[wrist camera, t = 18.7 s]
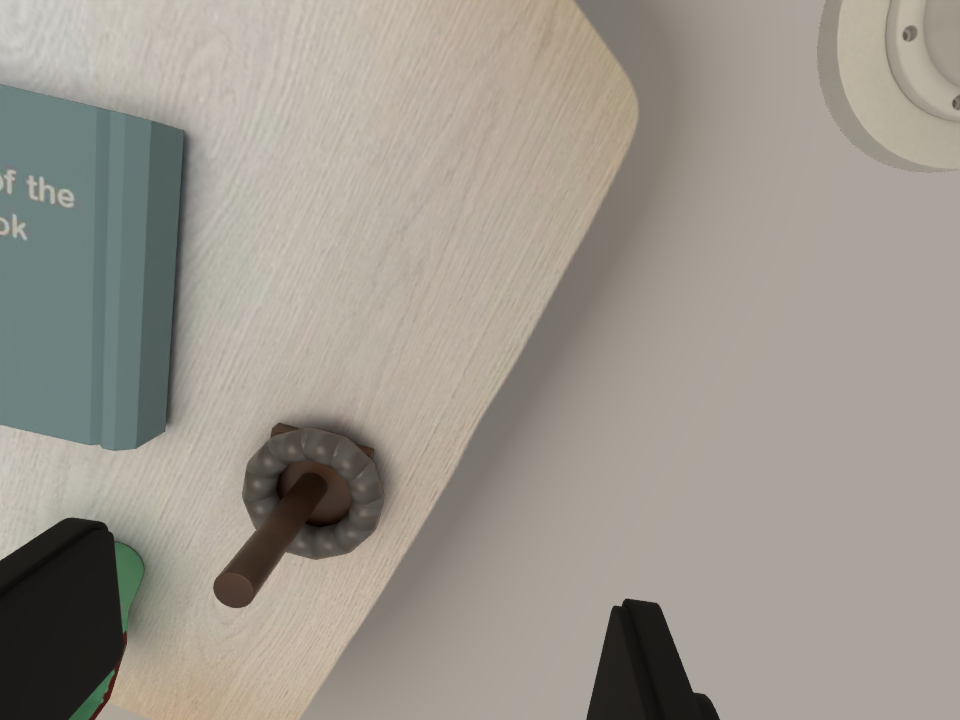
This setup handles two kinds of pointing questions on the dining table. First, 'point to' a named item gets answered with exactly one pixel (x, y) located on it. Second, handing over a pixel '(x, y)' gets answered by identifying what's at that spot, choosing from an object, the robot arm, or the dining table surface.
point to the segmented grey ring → (343, 461)
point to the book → (86, 269)
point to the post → (285, 524)
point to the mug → (128, 582)
